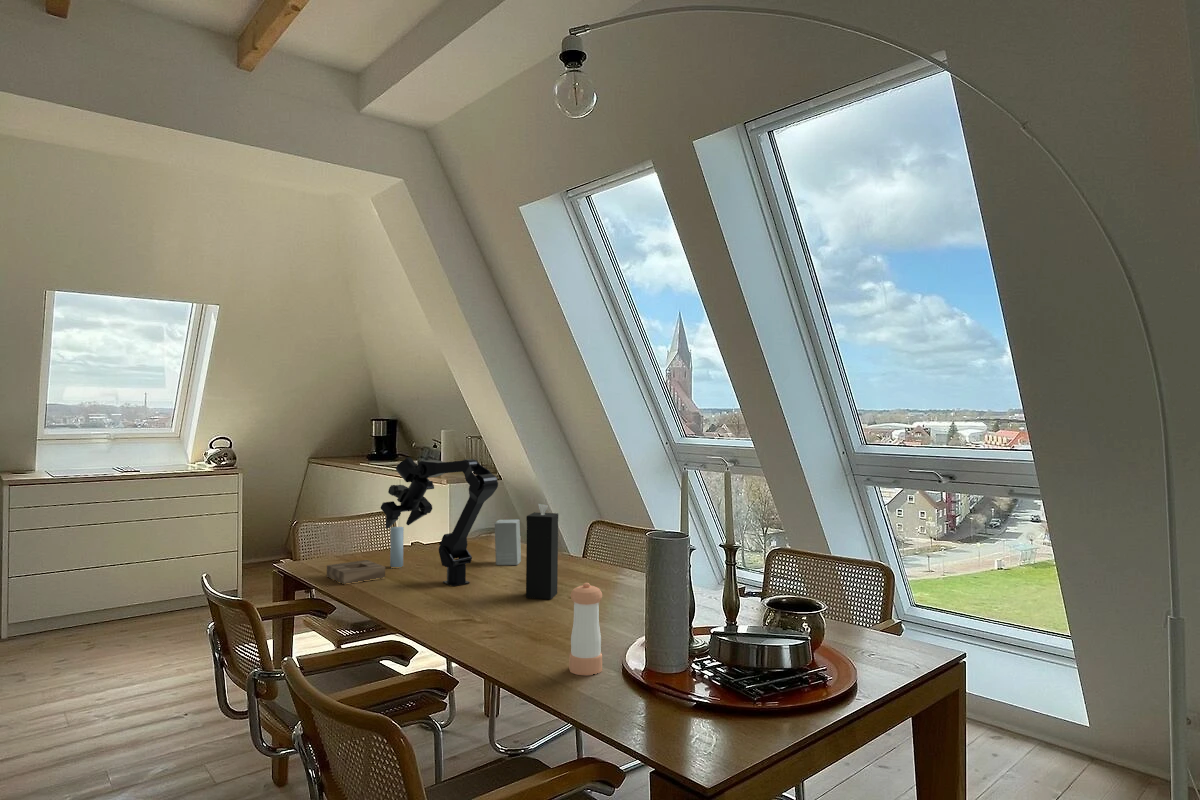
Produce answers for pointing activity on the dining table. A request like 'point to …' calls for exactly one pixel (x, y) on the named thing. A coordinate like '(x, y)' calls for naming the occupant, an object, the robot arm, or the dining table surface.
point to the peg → (396, 547)
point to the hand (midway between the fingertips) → (397, 526)
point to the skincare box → (507, 542)
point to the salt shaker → (586, 631)
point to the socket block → (355, 571)
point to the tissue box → (542, 554)
